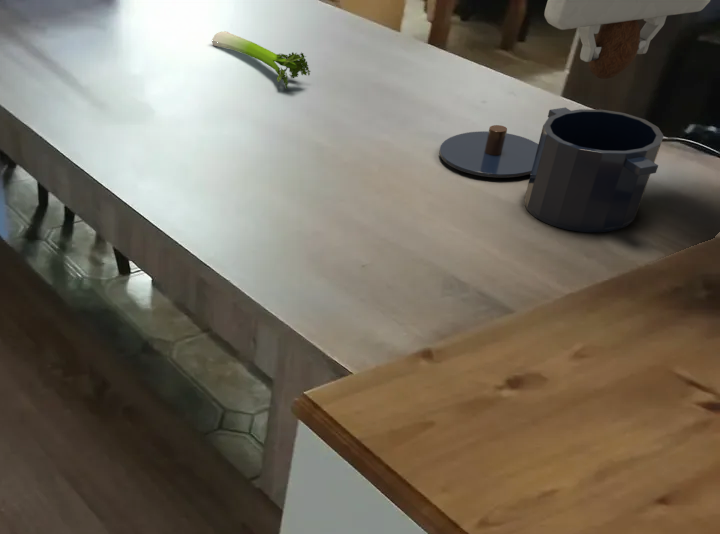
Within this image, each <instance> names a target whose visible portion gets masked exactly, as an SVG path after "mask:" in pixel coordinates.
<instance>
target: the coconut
mask: <svg viewBox="0 0 720 534" xmlns="http://www.w3.org/2000/svg"><path fill="white" fill-rule="evenodd" d="M640 31H641V27H640V23H639V20H631V21H624V22H617V23H609V24H602V25H601V26H600V29H599V33H597V34H595V36H594V38H595V43H596V44H597V45H600V46H602V49H601V52H600V53H599V59H598V60H595V61H589V62H588V67H589V70H590V72H591V74H593V75H594V76H595V77H597V78H598V79H602V80H607V79H612V78H614V77H616V76H618V75H620V74H621V73H622V72H623V71H624V70H626V69H627V68H628V67H629V66H630V65H631V64H632V63H633V62H634V60H635V58H636V56H637V55H636V54H637V51H638V47H639V41H640Z"/></svg>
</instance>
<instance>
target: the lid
mask: <svg viewBox="0 0 720 534" xmlns="http://www.w3.org/2000/svg"><path fill="white" fill-rule="evenodd" d="M538 144H539V143H538V142H535V141H533V140H531V139H529V138H526V137H525V136H524V137H523V136H520V135H516V134H514V133H513V134H512V133H508V127H506V126H504V125H499V124H494V125H491V126H489V129H488V131H486V130H485V131H470V132H463V133H459V134H456V135H452V136H450V137H448V138H447V139H445V140H444V141H442V143H441V144H440V146H439V150H438V151H439V156H440V158H441V159H442V160H443V162H444V163H445V164H447V165H448V166H450V167H451V168H454V169H455V170H458V171H461V172H463V173H467V174H471V175H474V176H481V177H488V178H499V179H501V178H504V179H505V178H518V177H524V176H528V175H531V171H532V167H533V163H534V160H535V156H536V152H537V148H538Z"/></svg>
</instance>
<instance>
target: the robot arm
mask: <svg viewBox="0 0 720 534" xmlns="http://www.w3.org/2000/svg"><path fill="white" fill-rule="evenodd" d="M710 2H711V0H547V2H546V5H545V9H544V12H543V13H544V14H543V15H544V18H545V21H546V22H547V23H548V24H549V25H551V26H552V27H553V28H556V29H558V30H561V31H564V30H565V31H566V30H571V29H577V28H578V29H577V32H578V35H579V38H580V41H581V44H582V45H581V49H580V54H579V58H580V60H581V61H583V62H585V63H589V61H595V60H598V59H599V53H600V52H601V49H602V46H600V45H597V44H596V43H595V35H597V34H598V33H599V30H600V28H601V27H602V25H603V24H609V23H617V22H624V21H631V20H637V21H639V20H643V21H644V22H645V23H644V25H643V27H642V28H640V41H639V47H638V51H637V54H636V56H638V55H639V56H640V55H645V54H646V53H647V52H648V50H649V46H650V43H651V40H653V39H654V38H655V37H656V35H657V34H658V33H659V31H660V30H661V29H662V28H663V26H664V25H665V23H666V19H667V17H668V16H675V15H684V14H689V13H697V12H701V11H702V10H704V9H705V7H706V6H708V5H709V3H710Z"/></svg>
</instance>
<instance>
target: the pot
mask: <svg viewBox="0 0 720 534" xmlns="http://www.w3.org/2000/svg"><path fill="white" fill-rule="evenodd" d="M663 139H664V134H663V132H662V131H661V130H660V128H659V127H658V126H657V125H655V124H653V123H652V122H650V121H648V120H647V119H644V118H641V117H639V116H635V115H632V114H630V113H629V114H628V113H625V112H621V111H613V110H607V109H589V108H587V109H585V108H583V109H573V110H570V109H569V108H567V107H559V108H553V109H551V108H550V109H549V111H548V115H547V119H546V121H545V122H544V124H543V126H542V129H541V133H540V136H539V141H538V143H537V144H538V148H537V152H536V156H535V160H534V163H533V167H532V171H531V174H529V175H530V176H529V179H528V183H527V187H526V191H525V195H524V205H525V209H526V210H527V211H528V213H530V214H531V216H532V217H534V218H536V219H537V220H539V221H540V222H543V223H546V224H547V225H550V226H551V227H552V226H553V227H556V228H559V229H563V230H567V231H571V232H572V231H573V232H579V233H606V232H613V231H617V230H620V229H623V228H625V227H627V226H629V225H631V224H632V223H633V222H634V220H635V219H636V216H637V213H638V211H639V208H640V205H641V203H642V199H643V196H644V194H645V191H646V188H647V185H648V182H649V180H650V177H651V175H652V174H656V173H657V171H658V168H659V164H657V163H656V159H657V157H658V153H659V151H660V148H661V146H662V143H663Z"/></svg>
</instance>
